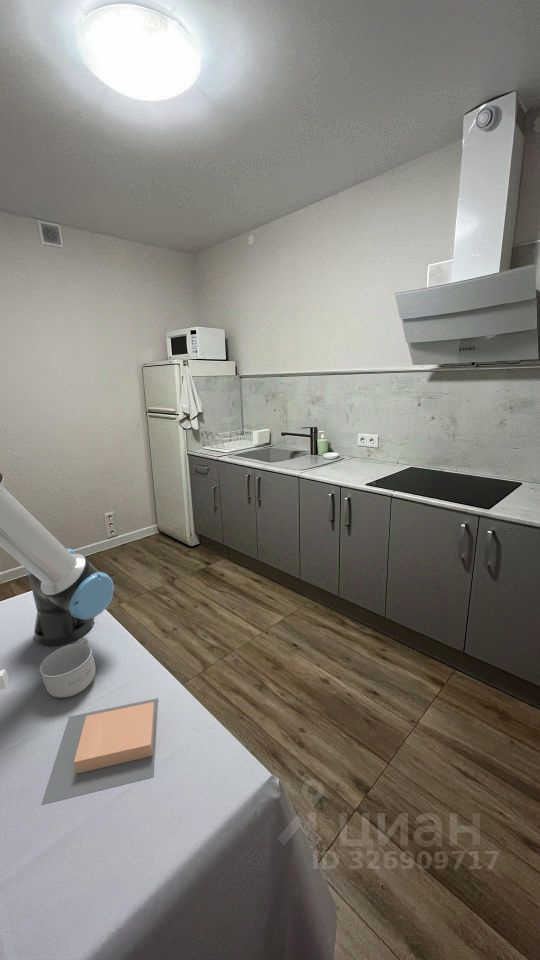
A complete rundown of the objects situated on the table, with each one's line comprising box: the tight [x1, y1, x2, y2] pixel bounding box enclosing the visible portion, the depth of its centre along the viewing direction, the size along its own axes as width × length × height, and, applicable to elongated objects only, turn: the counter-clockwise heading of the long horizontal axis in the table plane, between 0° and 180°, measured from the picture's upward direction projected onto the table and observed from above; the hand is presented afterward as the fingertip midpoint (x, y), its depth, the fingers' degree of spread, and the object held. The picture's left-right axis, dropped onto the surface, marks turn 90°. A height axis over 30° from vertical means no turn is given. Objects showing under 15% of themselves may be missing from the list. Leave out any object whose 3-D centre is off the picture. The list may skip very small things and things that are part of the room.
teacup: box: [39, 637, 96, 699], centre depth 92 cm, size 14×11×8 cm
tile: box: [74, 702, 155, 773], centre depth 76 cm, size 10×3×13 cm
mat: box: [41, 697, 159, 806], centre depth 76 cm, size 18×18×1 cm
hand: (5, 678), depth 68 cm, fingers closed
